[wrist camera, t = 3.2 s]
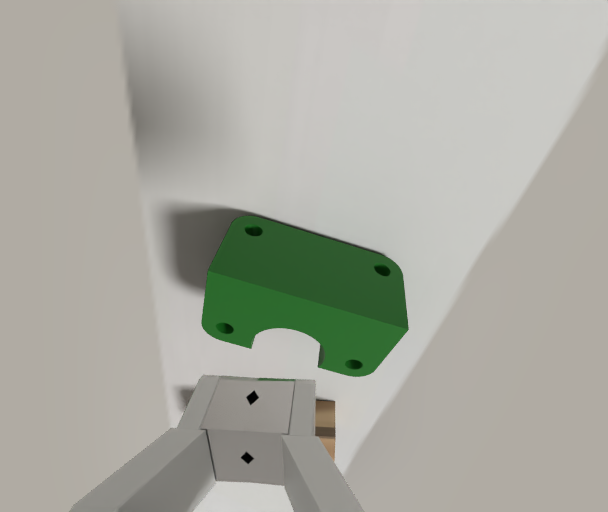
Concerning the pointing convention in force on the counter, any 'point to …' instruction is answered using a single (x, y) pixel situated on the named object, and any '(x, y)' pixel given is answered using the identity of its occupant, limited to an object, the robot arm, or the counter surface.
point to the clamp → (305, 294)
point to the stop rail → (326, 425)
